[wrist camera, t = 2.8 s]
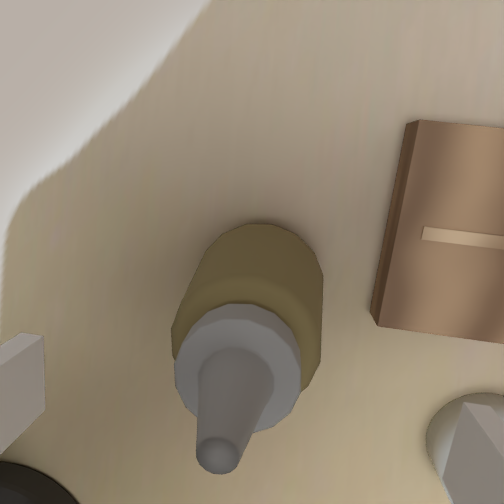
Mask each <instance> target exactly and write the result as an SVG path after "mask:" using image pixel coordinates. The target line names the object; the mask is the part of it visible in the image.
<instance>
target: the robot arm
mask: <svg viewBox="0 0 504 504" xmlns="http://www.w3.org/2000/svg"><path fill="white" fill-rule="evenodd" d="M44 411H45V374H44V336H41V335H34V334H28V333H22V332H21V333H19V334H18V335H16V336H15V337H13V338H11V339H10V340H8V341H7V342H5V343H3V344H2V345H0V455H1V454H2V453H3V452H4V451H5V450H6V449H7V448H8V447H9V446H10V445H11V444H12V443H13V442H14V441H15V440H16V439H17V438H18V437H19V436H20V435H21V434H22V433H23V432H24V431H25V430H26V429H27V428H28V427H29V426H30V425H31V424H32V423H33V422H34V421H35V420H36V419H37V418H38V417H39V416H40V415H41V414H42V413H43V412H44ZM442 479H443V482H444V484H445V486H446V488H447V490H448V492H449V494H450V496H451V499H452V501H453V503H454V504H504V422H503V421H502V420H501V419H500V417H499V416H498V415H497V414H496V412H495V411H494V410H493V409H492V408H491V406H487V405H480V404H474V403H467V402H463V405H462V409H461V413H460V416H459V420H458V423H457V427H456V430H455V434H454V438H453V441H452V445H451V448H450V452H449V455H448V459H447V463H446V466H445V470H444V473H443V477H442ZM0 504H76V502H75V501H74V500H73V499H72V497H71V496H70V495H69V494H68V493H67V492H66V491H65V490H64V489H62V488H61V487H60V486H59V485H58V484H56V483H55V482H53V481H52V480H51V479H49V478H47V477H46V476H44V475H42V474H40V473H38V472H36V471H34V470H31V469H29V468H26V467H23V466H20V465H16V464H11V463H4V462H0Z"/></svg>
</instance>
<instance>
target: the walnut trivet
mask: <svg viewBox="0 0 504 504" xmlns="http://www.w3.org/2000/svg"><path fill="white" fill-rule="evenodd" d="M370 314H371V315H372V317H373V319H374V321H375V323H376V324H377V326H379V327H386V328H393V329H401V330H408V331H415V332H422V333H429V334H436V335H443V336H450V337H458V338H465V339H472V340H479V341H486V342H493V343H500V344H504V128H495V127H486V126H476V125H467V124H457V123H447V122H438V121H428V120H417V121H414V122H411V123H409V124H406V129H405V135H404V140H403V145H402V150H401V155H400V160H399V165H398V170H397V175H396V180H395V185H394V190H393V196H392V201H391V206H390V211H389V216H388V221H387V226H386V231H385V236H384V241H383V246H382V251H381V257H380V262H379V267H378V272H377V277H376V282H375V287H374V292H373V297H372V302H371V307H370Z"/></svg>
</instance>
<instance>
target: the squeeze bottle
mask: <svg viewBox="0 0 504 504" xmlns="http://www.w3.org/2000/svg"><path fill="white" fill-rule="evenodd" d="M322 302H323V273H322V271H321V268H320V266H319V263H318V261H317V258H316V256H315V253H314V252H313V251H312V250H311V249H310V248H309V247H308V246H307V245H306V244H305V243H304V242H303V241H302V240H301V239H300V238H299V237H298V236H297V235H296V234H294V233H292V232H289V231H287V230H285V229H282V228H280V227H277V226H275V225H273V224H245V225H243V226H241V227H238V228H236V229H233V230H231V231H228V232H226V233H223V234H222V235H221V236H220V237H219V238H218V239H217V240H216V241H215V242H214V243H213V244H212V245H211V246H210V247H209V248H208V249H207V250H206V252H205V254H204V256H203V258H202V260H201V262H200V264H199V266H198V268H197V270H196V273H195V275H194V277H193V279H192V281H191V283H190V285H189V287H188V289H187V291H186V293H185V295H184V298H183V300H182V302H181V304H180V307H179V309H178V312H177V314H176V317H175V320H174V322H173V325H172V328H171V337H172V354H173V358H174V360H175V363H174V370H175V386H176V388H177V390H178V392H179V394H180V396H181V398H182V400H183V402H184V404H185V406H186V408H187V409H189V410H190V411H191V412H192V413H193V414H194V415H195V416H196V417H197V441H196V458H197V460H198V462H199V464H200V465H201V466H202V467H203V468H204V469H205V470H206V471H208V472H211V473H213V474H226V473H229V472H231V471H232V470H234V469H235V468H236V467H237V465H238V463H239V461H240V459H241V456H242V454H243V452H244V450H245V448H246V446H247V444H248V442H249V440H250V437H251V435H252V433H255V432H258V431H261V430H265V429H268V428H271V427H273V426H275V425H276V424H277V423H278V422H280V421H281V420H282V419H283V418H284V417H286V416H287V415H288V414H289V413H291V411H292V409H293V407H294V405H295V403H296V401H297V399H298V397H299V395H300V393H301V392H302V391H303V390H304V389H305V388H307V387H308V385H309V383H310V381H311V379H312V377H313V375H314V373H315V371H316V369H317V368H318V366H319V364H320V358H321V330H322Z"/></svg>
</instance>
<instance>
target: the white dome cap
mask: <svg viewBox="0 0 504 504" xmlns="http://www.w3.org/2000/svg"><path fill="white" fill-rule="evenodd" d="M463 402H467V403H474V404H480V405H487V406H491V408H492V409H493V410H494V411H495V412H496V414H497V415H498V416H499V417H500V419H501V420H502V421H503V422H504V396H502V395H499V394H493V393H475V394H469V395H466V396H462V397H460V398H457V399H455V400H453V401H451V402H449V403H448V404H446V405H445V406H444V407H442V408H441V409H440V410H439V411H438V412H437V413H436V415H435V416H434V417H433V419H432V420H431V422H430V424H429V426H428V429H427V433H426V448H427V452H428V455H429V457H430V459H431V462H432V464H433V466H434V468H435V470H436V472H437V475H438V477H439V479H440V481H441V483H442V485H443V488H444V490H445V492H446V494H447V496H448V498H449V500H450V502H451V504H454V503H453V501H452V499H451V496H450V494H449V492H448V490H447V488H446V486H445V484H444V482H443V479H442V477H443V473H444V470H445V466H446V463H447V459H448V455H449V452H450V448H451V445H452V441H453V438H454V434H455V430H456V427H457V423H458V420H459V416H460V413H461V409H462V405H463Z"/></svg>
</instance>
